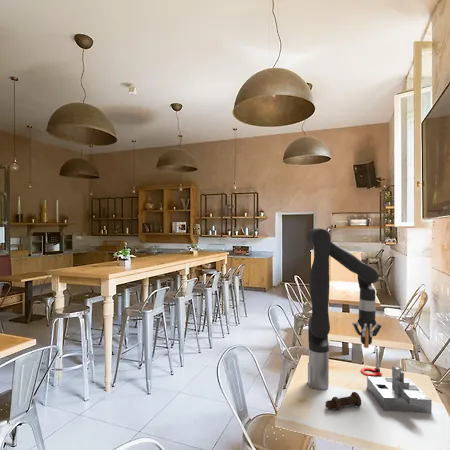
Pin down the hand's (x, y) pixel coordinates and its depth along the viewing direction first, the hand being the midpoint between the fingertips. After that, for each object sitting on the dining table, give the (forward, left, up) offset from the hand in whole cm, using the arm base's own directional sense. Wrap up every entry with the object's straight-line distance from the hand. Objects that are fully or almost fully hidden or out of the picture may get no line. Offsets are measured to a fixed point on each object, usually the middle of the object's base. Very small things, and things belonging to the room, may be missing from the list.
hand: (366, 343), depth 159 cm
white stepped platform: (+8, -18, -19) cm, 27 cm away
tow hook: (+6, +11, -19) cm, 23 cm away
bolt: (-18, -23, -19) cm, 35 cm away
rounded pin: (0, 0, -2) cm, 2 cm away
